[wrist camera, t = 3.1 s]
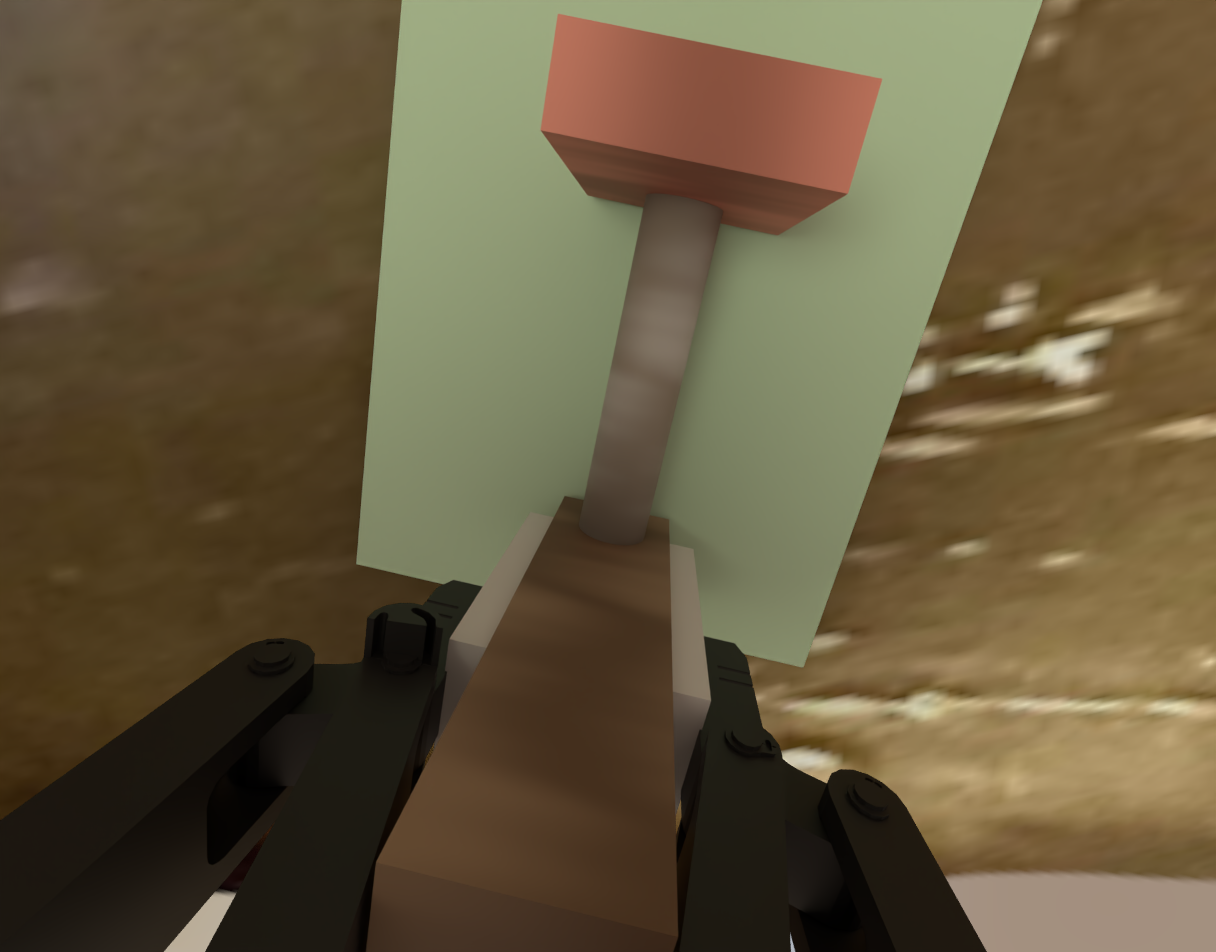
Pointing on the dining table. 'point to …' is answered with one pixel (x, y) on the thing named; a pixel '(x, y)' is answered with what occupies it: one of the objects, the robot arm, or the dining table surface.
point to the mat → (597, 283)
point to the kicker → (609, 522)
